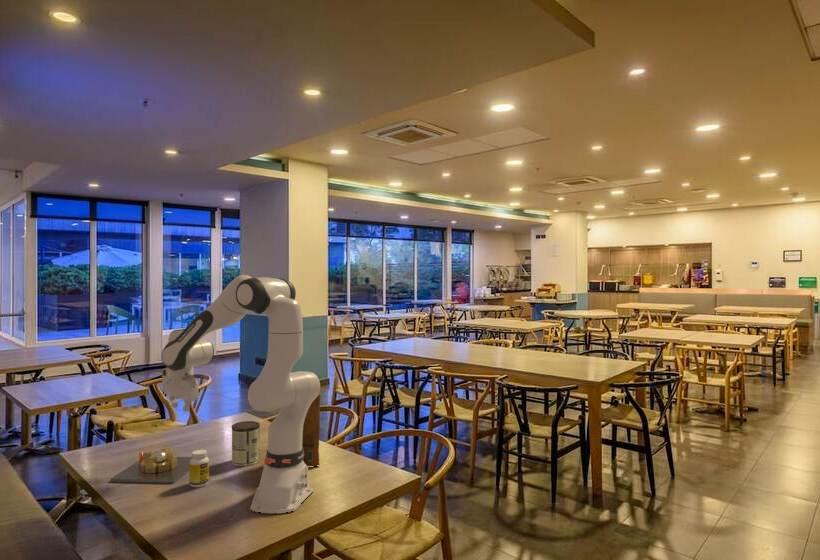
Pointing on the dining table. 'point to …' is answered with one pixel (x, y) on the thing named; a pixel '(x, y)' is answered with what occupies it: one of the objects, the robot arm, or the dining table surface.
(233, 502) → the dining table surface
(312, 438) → the pancake mix bag
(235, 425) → the coffee can
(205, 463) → the pill bottle
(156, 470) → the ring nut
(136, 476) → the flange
